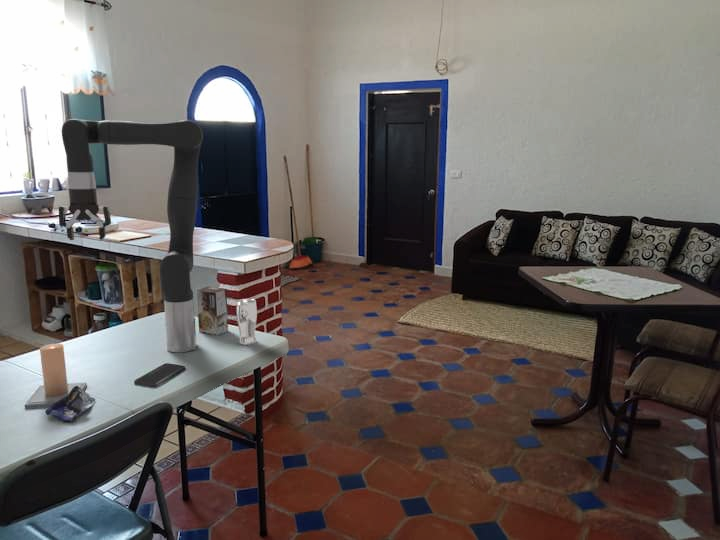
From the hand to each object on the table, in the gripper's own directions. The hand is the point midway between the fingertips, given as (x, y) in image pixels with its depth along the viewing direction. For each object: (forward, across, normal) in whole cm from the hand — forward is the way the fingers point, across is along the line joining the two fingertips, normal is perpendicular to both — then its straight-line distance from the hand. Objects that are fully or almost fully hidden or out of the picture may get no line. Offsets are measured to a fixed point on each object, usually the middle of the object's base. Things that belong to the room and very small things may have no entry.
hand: (87, 239), depth 171 cm
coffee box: (+38, +36, +18) cm, 56 cm away
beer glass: (+38, +48, +4) cm, 62 cm away
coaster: (+38, -4, -30) cm, 49 cm away
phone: (+39, +22, -21) cm, 49 cm away
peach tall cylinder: (+37, -4, -30) cm, 48 cm away
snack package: (+39, +3, -41) cm, 56 cm away
